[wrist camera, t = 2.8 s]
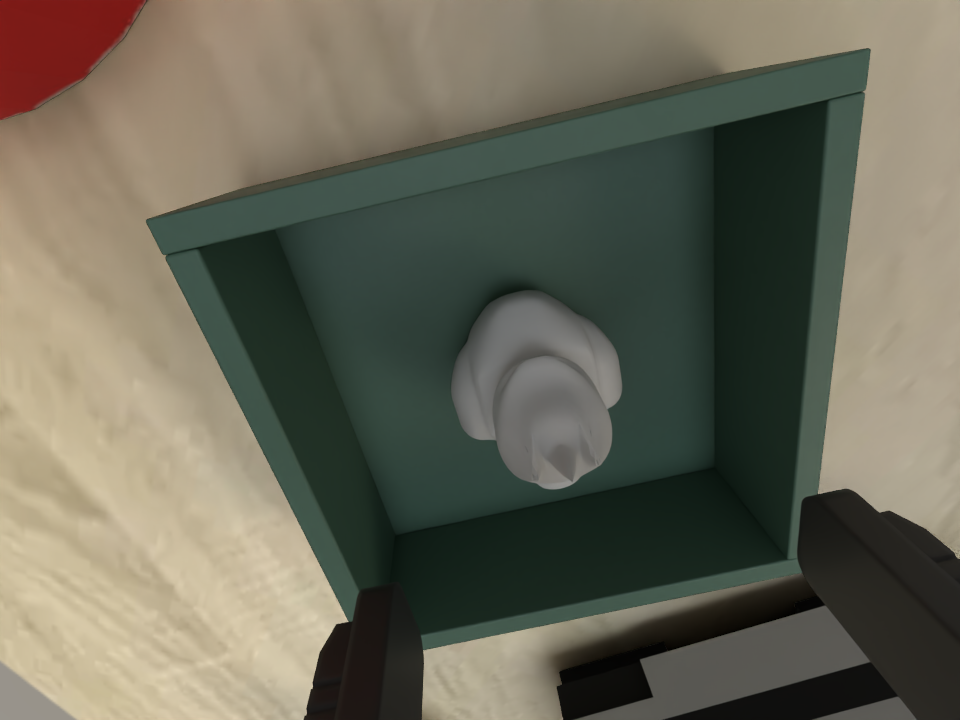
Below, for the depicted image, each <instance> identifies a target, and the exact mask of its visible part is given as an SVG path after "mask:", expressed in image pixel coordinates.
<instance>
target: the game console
mask: <svg viewBox="0 0 960 720" xmlns="http://www.w3.org/2000/svg"><path fill="white" fill-rule="evenodd" d="M795 611H796V614H795V615H791V616H788V617H785V618H781V619H778V620H774V621H771V622H767V623H764V624H760V625H757V626H754V627H750V628H747V629H743V630H740V631H736V632H733V633H729V634H726V635H723V636H719V637H716V638H712V639H709V640H705V641H702V642H699V643H695V644H692V645H688V646H685V647H681V648H678V649H674V650H671V651H668V650H667V648H666V645H665V643H664V642H660V643H657V644H653V645H650V646H647V647H643V648H640V649H636V650H633V651H630V652H626V653H623V654H619V655H616V656H612V657H609V658H606V659H602V660H599V661H595V662H592V663H589V664H585V665H582V666H578V667H575V668H572V669H568V670H565V671H561V672H559V673H560V678H561V683H562V685H559V686H557V691H558V696H559V701H560V706H561V711H562V716H563V720H917V719H916V718H915V717H914V715H913V714H912V713H911V712H910V710H909V709H908V708H907V707H906V705H905V704H904V703H903V702H902V700H901V699H900V698H899V697H898V695H897V694H896V693H895V692H894V690H893V689H892V688H891V687H890V685H889V684H888V683H887V682H886V680H885V679H884V678H883V677H882V675H881V674H880V673H879V672H878V670H877V669H876V668H875V667H874V665H873V664H872V663H871V662H870V660H869V659H868V658H867V657H866V655H865V654H864V653H863V652H862V650H861V649H860V648H859V647H858V645H857V644H856V643H855V642H854V640H853V639H852V638H851V637H850V635H849V634H848V633H847V632H846V630H845V629H844V628H843V627H842V625H841V624H840V623H839V622H838V620H837V619H836V618H835V617H834V615H833V614H832V613H831V612H830V610H829V609H828V608H827V607H826V605H825V604H824V603H823V602H822V600H821V599H820V598H819V597H818V596H817V597H814V598H811V599H807V600H804V601H800V602H797V603H795Z"/></svg>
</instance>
